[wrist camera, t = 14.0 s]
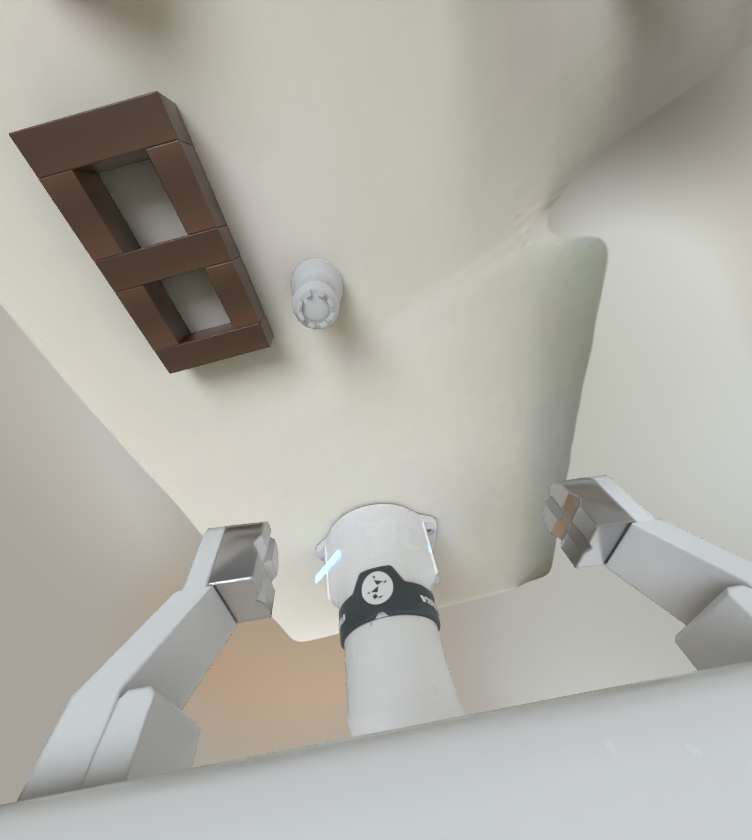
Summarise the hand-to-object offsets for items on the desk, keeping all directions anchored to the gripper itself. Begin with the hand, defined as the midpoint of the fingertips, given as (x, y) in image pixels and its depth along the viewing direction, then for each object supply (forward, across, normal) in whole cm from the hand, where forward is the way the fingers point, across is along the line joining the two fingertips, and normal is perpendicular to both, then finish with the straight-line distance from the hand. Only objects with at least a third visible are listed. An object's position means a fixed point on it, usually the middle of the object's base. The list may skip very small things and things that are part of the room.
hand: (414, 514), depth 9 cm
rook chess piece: (+25, +3, -2) cm, 25 cm away
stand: (+24, +14, -5) cm, 28 cm away
